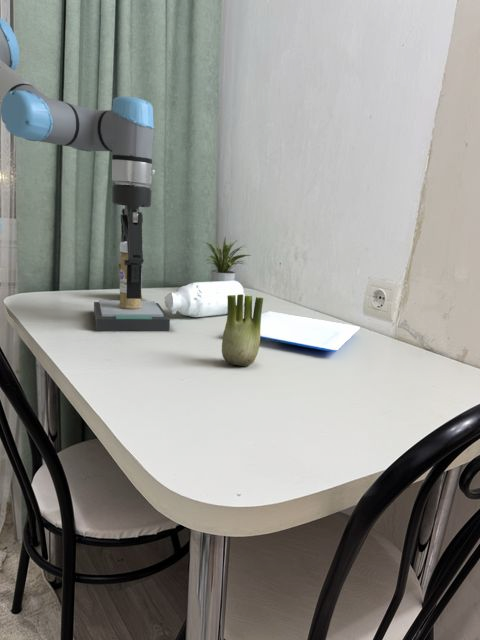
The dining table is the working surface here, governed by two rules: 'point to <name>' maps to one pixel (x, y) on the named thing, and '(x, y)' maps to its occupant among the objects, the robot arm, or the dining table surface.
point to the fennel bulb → (242, 330)
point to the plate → (305, 331)
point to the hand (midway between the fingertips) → (130, 291)
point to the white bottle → (203, 298)
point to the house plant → (224, 262)
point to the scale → (130, 317)
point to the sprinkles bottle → (125, 301)
